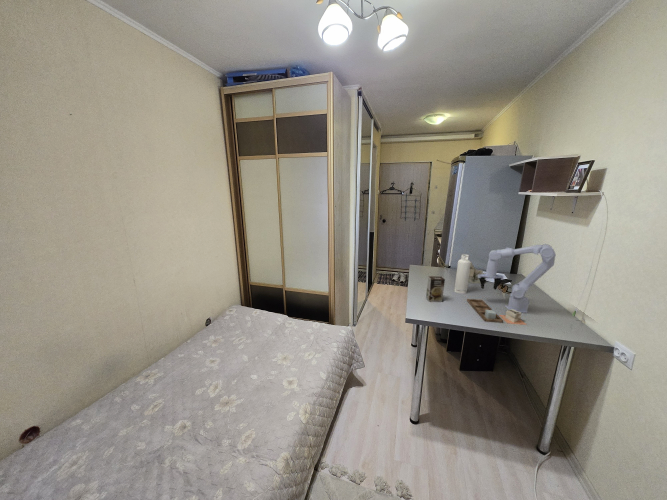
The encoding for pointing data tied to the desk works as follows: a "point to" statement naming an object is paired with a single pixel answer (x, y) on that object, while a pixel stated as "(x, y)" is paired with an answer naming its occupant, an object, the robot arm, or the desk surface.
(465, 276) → the bottle
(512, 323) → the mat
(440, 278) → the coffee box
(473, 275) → the ceramic cottage
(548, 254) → the robot arm
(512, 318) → the letter cube
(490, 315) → the blank block
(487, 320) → the organizer
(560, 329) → the desk surface
